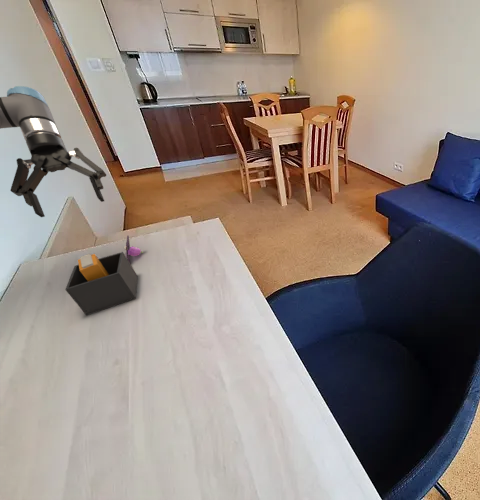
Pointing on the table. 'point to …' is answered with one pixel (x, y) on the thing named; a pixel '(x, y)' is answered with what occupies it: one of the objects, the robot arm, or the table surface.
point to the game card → (131, 250)
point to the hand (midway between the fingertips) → (71, 207)
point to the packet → (91, 267)
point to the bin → (104, 285)
